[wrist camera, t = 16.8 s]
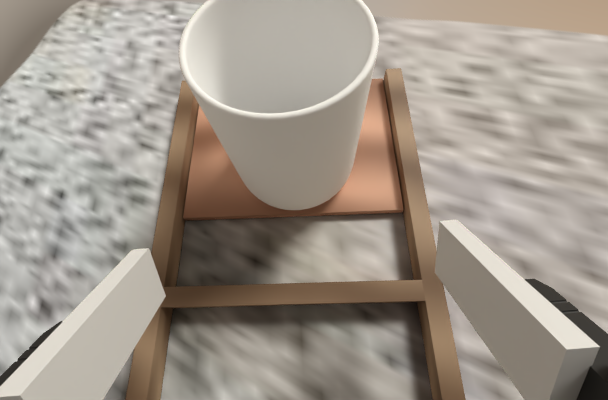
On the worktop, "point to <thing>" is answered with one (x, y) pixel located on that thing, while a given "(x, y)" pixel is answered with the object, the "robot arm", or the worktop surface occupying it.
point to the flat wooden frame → (243, 204)
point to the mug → (283, 90)
